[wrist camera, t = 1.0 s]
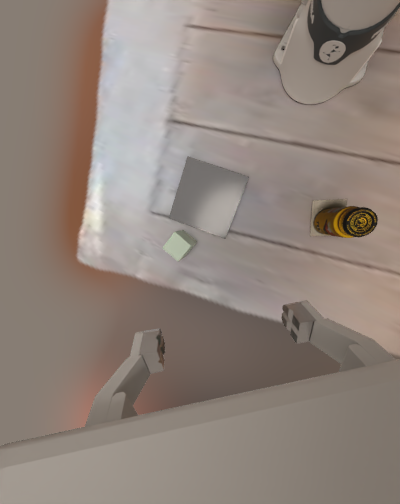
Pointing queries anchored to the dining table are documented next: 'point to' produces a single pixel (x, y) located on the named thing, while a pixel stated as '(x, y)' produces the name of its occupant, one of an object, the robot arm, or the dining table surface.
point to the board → (208, 197)
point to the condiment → (341, 219)
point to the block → (179, 245)
